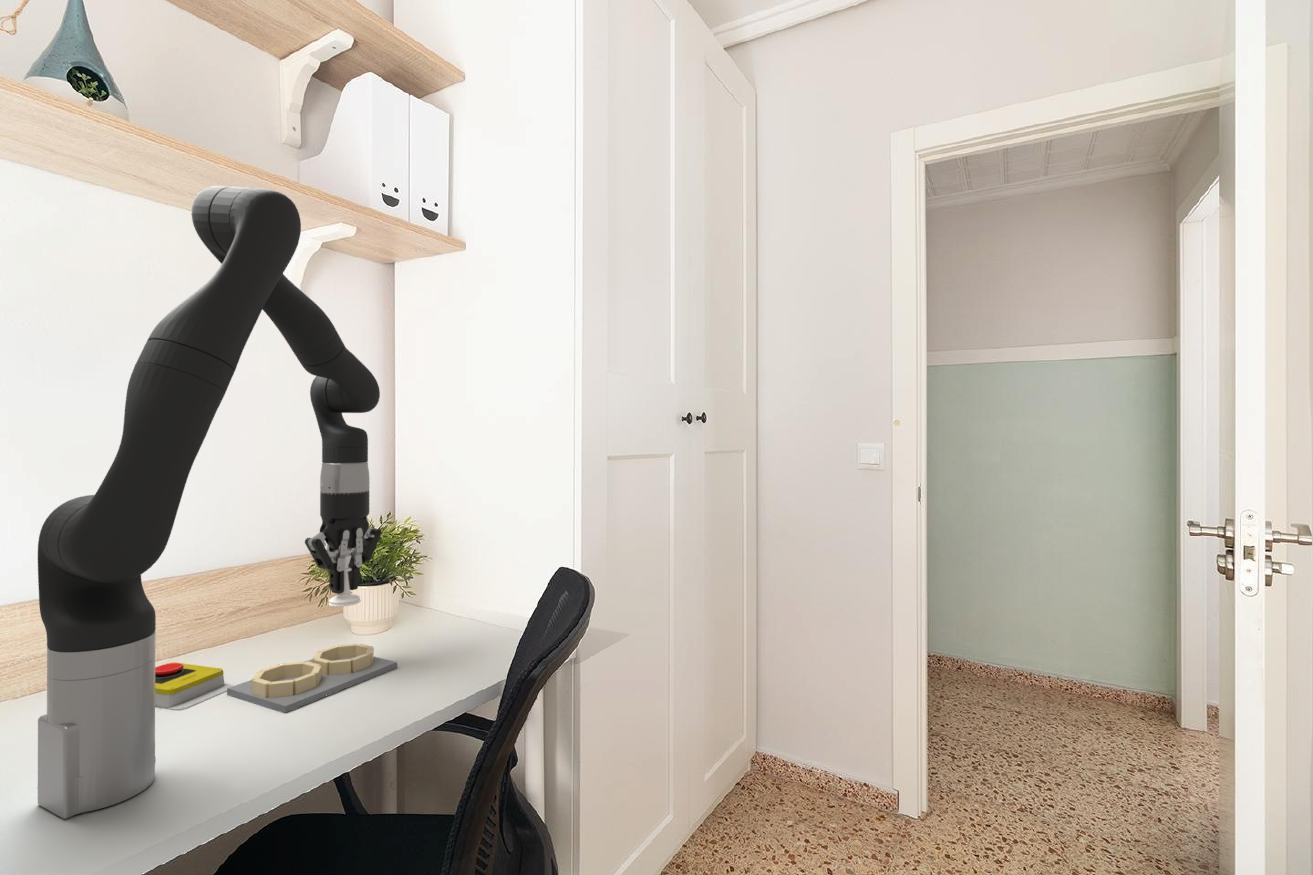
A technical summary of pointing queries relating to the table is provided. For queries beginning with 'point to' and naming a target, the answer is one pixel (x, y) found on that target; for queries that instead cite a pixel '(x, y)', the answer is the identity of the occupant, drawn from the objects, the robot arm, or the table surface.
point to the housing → (312, 677)
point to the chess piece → (345, 589)
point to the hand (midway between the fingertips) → (344, 590)
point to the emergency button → (186, 685)
